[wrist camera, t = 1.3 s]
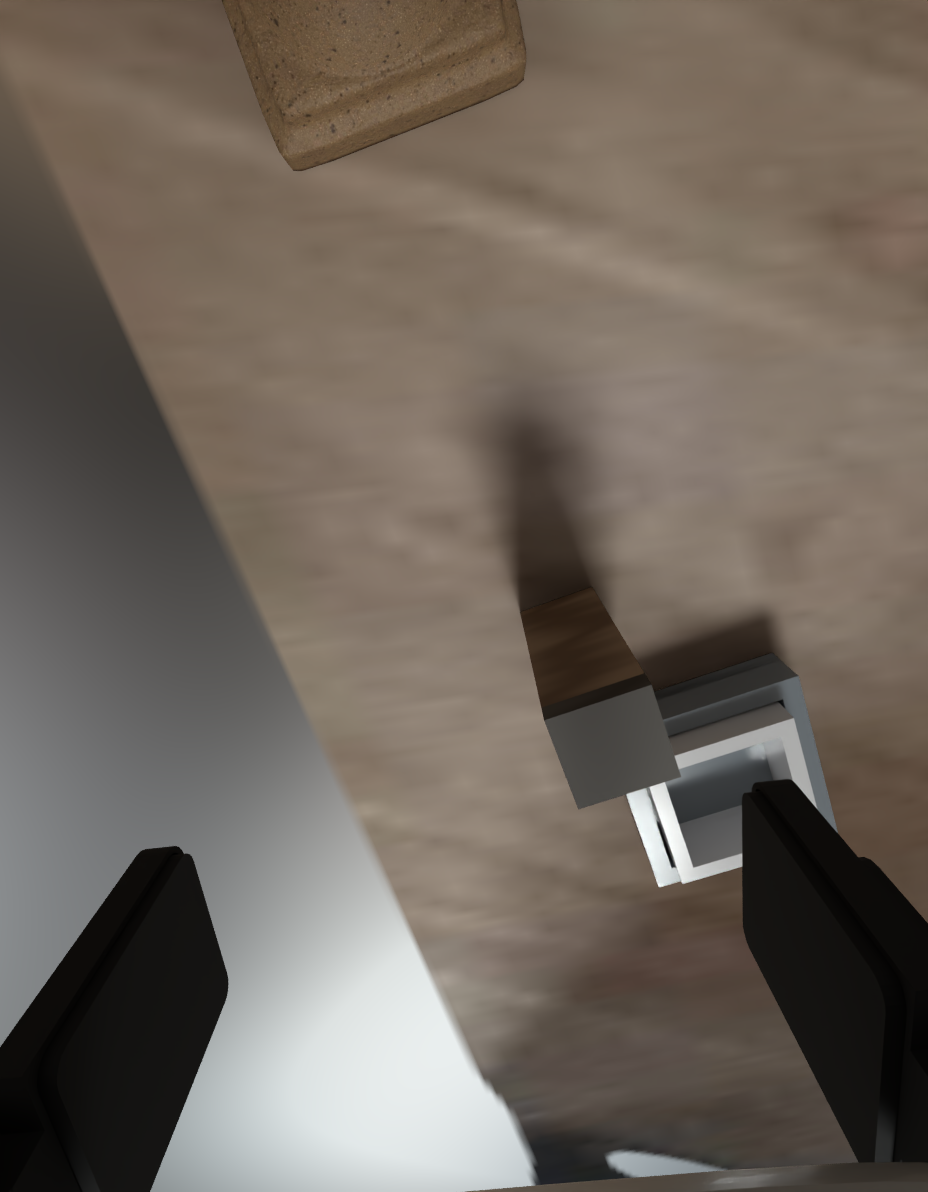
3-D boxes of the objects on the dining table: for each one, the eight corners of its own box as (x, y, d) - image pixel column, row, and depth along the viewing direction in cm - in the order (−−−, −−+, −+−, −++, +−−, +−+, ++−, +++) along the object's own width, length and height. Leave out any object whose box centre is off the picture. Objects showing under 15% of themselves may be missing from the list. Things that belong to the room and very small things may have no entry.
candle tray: (772, 652, 36) (813, 689, 32) (811, 801, 39) (853, 853, 34) (595, 711, 37) (612, 753, 33) (645, 851, 40) (666, 907, 36)
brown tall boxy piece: (591, 586, 35) (651, 684, 23) (614, 652, 36) (681, 776, 25) (520, 612, 35) (544, 720, 24) (544, 676, 36) (578, 809, 25)
